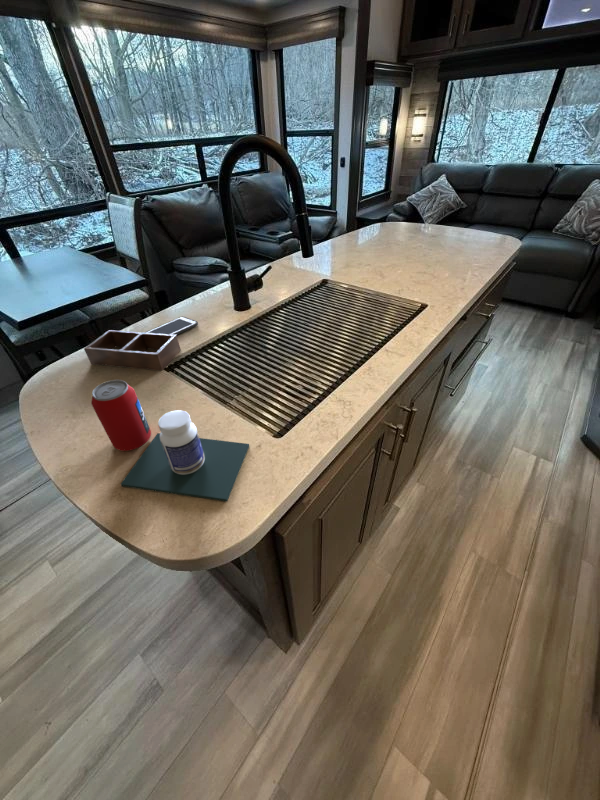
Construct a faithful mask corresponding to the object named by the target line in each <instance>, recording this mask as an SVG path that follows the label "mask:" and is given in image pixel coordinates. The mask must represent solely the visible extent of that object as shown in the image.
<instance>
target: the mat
mask: <svg viewBox="0 0 600 800" xmlns="http://www.w3.org/2000/svg"><path fill="white" fill-rule="evenodd" d="M160 433H161V432H157V433H156V434H155V436H154V437H153V439H152V440H151V441H150V442H149V444H148V445H147V447H146V448H145V450H144V451H143V452H142V453H141V455H140V457H139V458H138V459H137V461H136V462H135V463H134V465H133V466H132V468H131V469H130V471H129V472H128V473H127V474H126V476H125V477H124V478H123V480H122V481H121V482H120V486H121V487H124V488H130V489H137V490H144V491H150V492H158V493H165V494H171V495H179V496H185V497H190V498H191V497H192V498H198V499H199V498H200V499H205V500H214V501H220V502H227V503H228V500H229V498H230V495H231V493H232V491H233V488H234V486H235V483H236V481H237V478H238V476H239V473H240V471H241V468H242V465H243V463H244V460H245V459H246V456H247V453H248V450H249V448H250V443H246V442H237V441H228V440H219V439H212V438H211V439H210V438H203V437H199V438H200V442H201V445H202V449H203V452H204V457H205V460H204V463H203V465H202V466H201V467H200V468H199V469H198V470H197V471H195V472H193V473H190V474H186V475H181V474H177V473H175V472H174V471H173V470H172V469H171V467H170V464H169V462H168V459H167V457H166V454H165V451H164V449H163V446H162V444H161V441H160Z"/></svg>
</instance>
